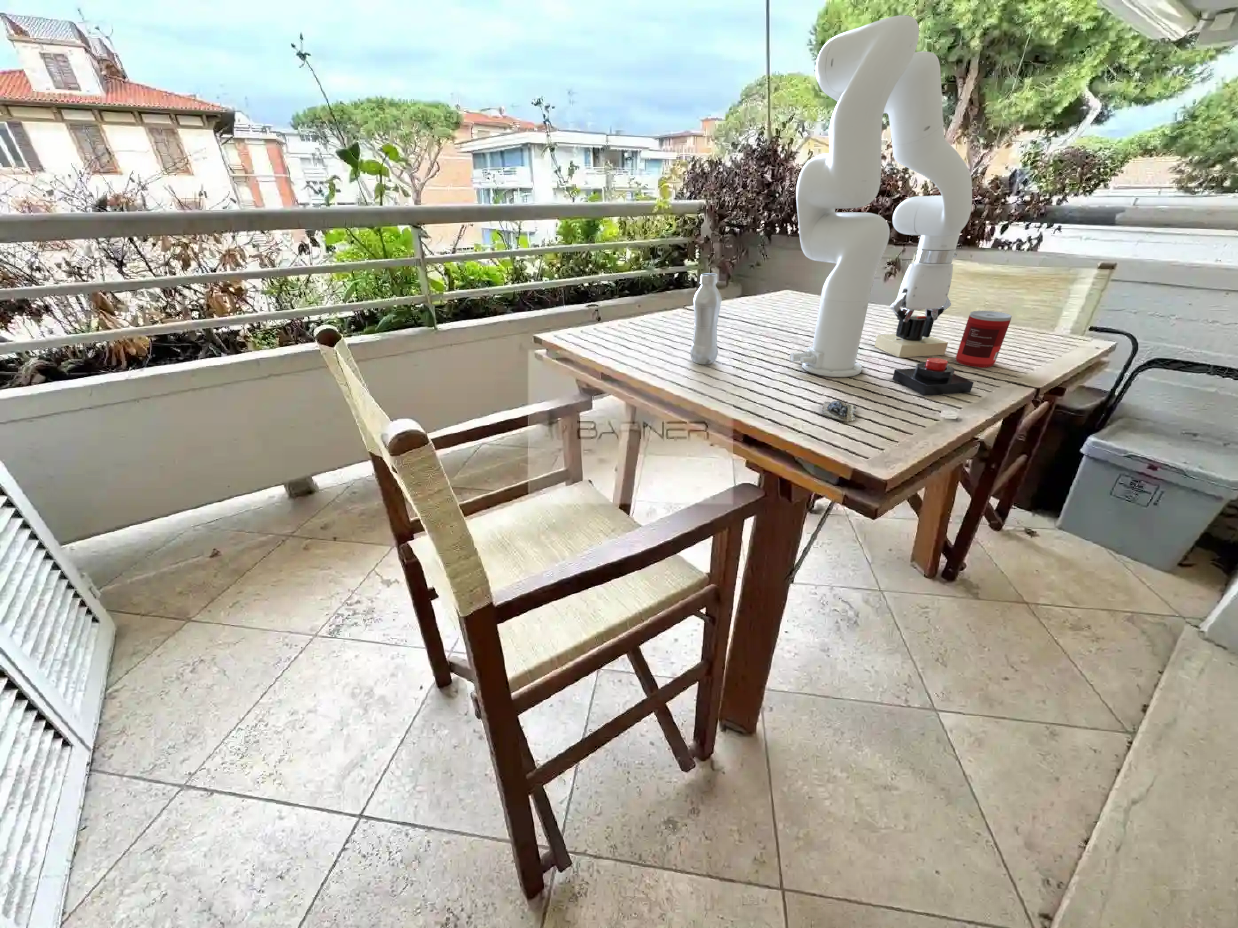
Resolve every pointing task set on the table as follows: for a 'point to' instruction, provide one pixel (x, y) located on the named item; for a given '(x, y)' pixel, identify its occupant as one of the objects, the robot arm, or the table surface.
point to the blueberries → (839, 410)
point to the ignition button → (936, 364)
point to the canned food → (982, 338)
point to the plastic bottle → (706, 320)
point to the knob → (916, 328)
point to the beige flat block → (910, 346)
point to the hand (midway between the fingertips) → (912, 336)
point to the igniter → (932, 380)
